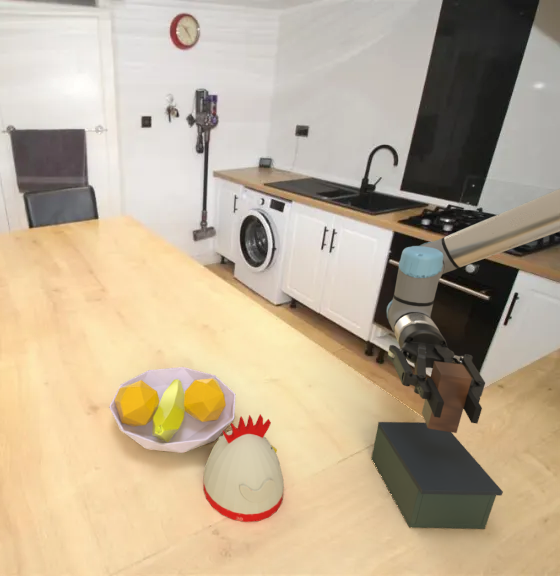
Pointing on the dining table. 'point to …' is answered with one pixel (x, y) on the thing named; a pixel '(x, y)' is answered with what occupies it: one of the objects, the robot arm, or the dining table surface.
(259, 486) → the kitchen timer
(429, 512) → the dark green tray box
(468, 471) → the dark grey flat panel
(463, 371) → the block
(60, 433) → the dining table surface
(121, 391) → the fruit bowl
